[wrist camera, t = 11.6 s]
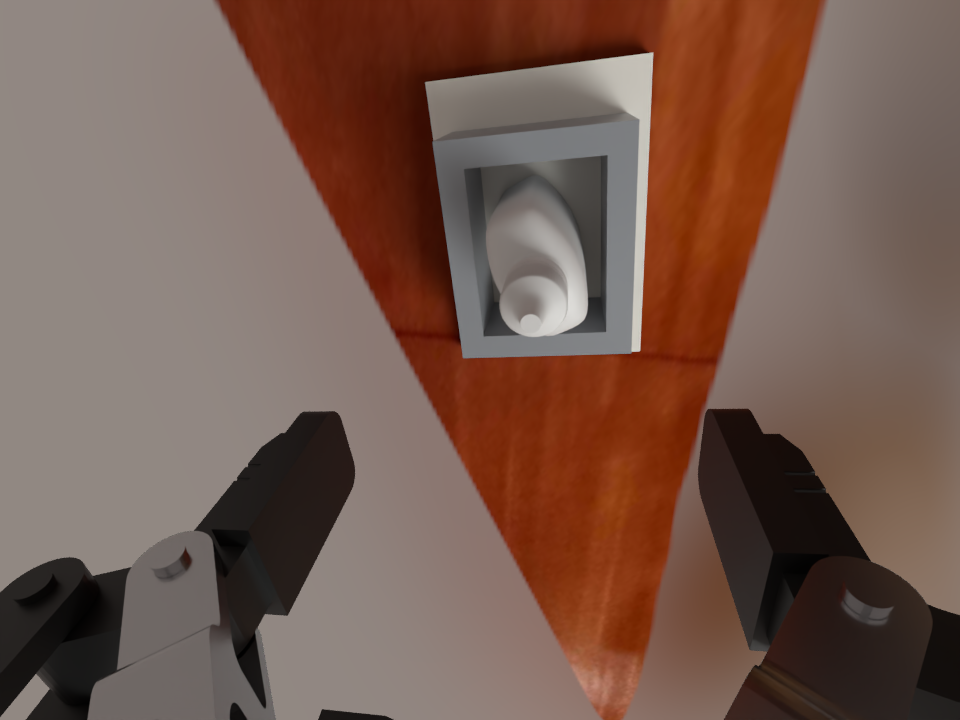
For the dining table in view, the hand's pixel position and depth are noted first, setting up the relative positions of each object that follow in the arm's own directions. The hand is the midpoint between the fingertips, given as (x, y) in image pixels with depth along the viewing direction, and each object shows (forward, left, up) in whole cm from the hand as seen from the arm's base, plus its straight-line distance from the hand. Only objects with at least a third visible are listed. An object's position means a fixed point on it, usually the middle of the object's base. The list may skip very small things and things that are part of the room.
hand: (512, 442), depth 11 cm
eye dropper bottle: (0, 0, -18) cm, 18 cm away
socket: (0, 0, -19) cm, 19 cm away
